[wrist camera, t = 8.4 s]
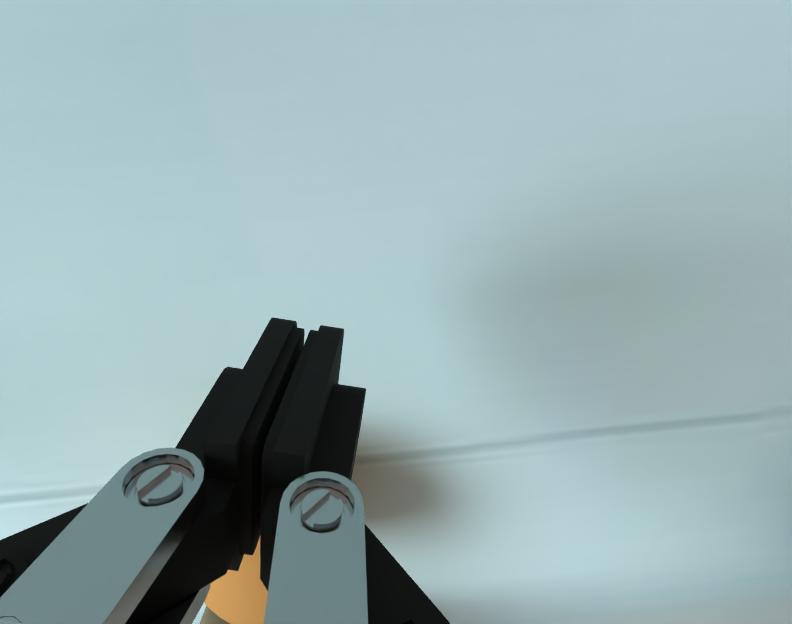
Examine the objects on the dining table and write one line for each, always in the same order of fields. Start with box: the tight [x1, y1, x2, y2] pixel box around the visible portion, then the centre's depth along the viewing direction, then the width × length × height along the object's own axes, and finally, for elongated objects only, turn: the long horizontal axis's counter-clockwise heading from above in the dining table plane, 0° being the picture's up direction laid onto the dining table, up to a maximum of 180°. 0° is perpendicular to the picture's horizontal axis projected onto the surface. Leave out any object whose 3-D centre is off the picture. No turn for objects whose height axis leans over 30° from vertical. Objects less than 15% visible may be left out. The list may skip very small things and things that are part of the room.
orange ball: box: [204, 538, 268, 624], centre depth 18 cm, size 6×6×6 cm
